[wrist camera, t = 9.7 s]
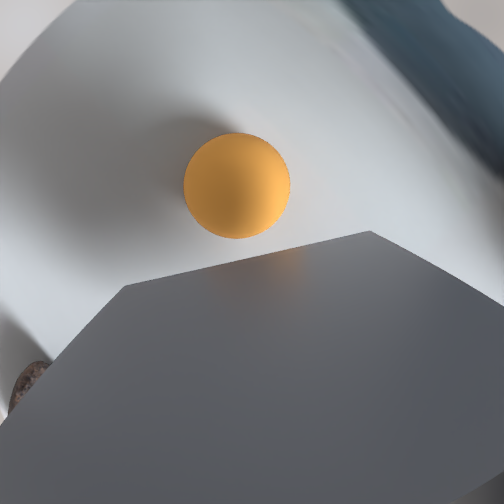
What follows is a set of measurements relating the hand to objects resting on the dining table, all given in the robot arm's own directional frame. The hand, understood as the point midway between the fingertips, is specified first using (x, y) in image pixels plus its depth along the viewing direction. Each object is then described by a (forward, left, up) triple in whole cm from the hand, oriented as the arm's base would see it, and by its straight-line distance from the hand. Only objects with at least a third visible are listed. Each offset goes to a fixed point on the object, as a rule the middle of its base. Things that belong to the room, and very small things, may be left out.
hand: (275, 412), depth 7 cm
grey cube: (0, 0, -2) cm, 2 cm away
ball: (0, -6, -9) cm, 10 cm away
